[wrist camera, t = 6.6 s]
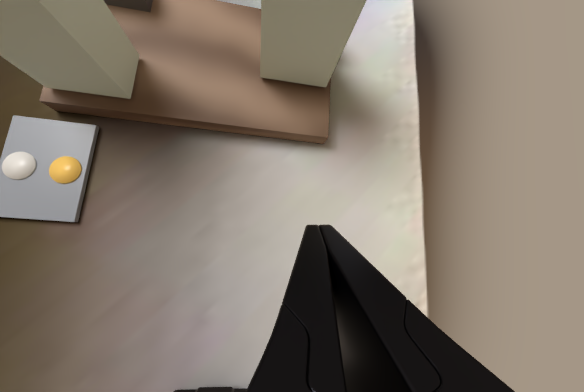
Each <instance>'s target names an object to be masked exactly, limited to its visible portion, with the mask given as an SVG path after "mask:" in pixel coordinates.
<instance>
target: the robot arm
mask: <svg viewBox="0 0 584 392" xmlns="http://www.w3.org/2000/svg"><path fill="white" fill-rule="evenodd" d="M174 392H514V391H513V390H512V389H511V388H510V387H508V386H507V385H506V384H505V383H504V382H502V381H501V380H500V379H499V378H498V377H496V376H495V375H494V374H493V373H492V372H490V371H489V370H488V369H487V368H486V367H484V366H483V365H482V364H481V363H480V362H478V361H477V360H476V359H474V357H472V356H471V355H470V354H469V353H467V352H466V351H465V350H464V349H463V348H461V347H460V346H459V345H458V344H457V343H456V342H454V341H453V340H452V339H451V338H450V337H448V336H447V335H446V334H445V333H444V332H443V331H442V330H441V329H439V328H438V327H437V326H436V325H435V324H434V323H433V322H432V321H431V320H430V319H428V318H427V317H426V316H425V315H424V314H423V313H422V312H421V311H420V310H419V309H418V308H417V307H416V306H415V305H414V304H412V303H411V302H410V301H409V300H406V297H405V296H404V295H403V294H402V293H401V292H400V291H399V290H398V289H397V288H396V287H395V286H394V285H393V284H392V283H391V282H389V281H388V280H387V279H386V278H385V277H384V276H383V275H382V274H381V273H380V272H379V271H378V270H377V269H376V268H375V267H374V266H373V265H372V264H371V263H370V262H369V261H368V260H367V259H366V258H365V257H364V256H362V255H361V254H360V253H359V252H358V251H357V250H356V249H355V248H354V247H353V246H352V245H351V244H350V243H349V242H348V241H347V240H346V239H345V238H344V237H343V236H342V235H341V234H340V233H339V232H338V231H336V230H335V229H334V228H333V227H332V226H331V225H319V226H318V225H307V226H306V228H305V231H304V235H303V238H302V241H301V244H300V247H299V251H298V254H297V257H296V260H295V263H294V267H293V270H292V273H291V276H290V279H289V283H288V286H287V289H286V292H285V296H284V299H283V302H282V305H281V308H280V311H279V314H278V317H277V320H276V323H275V326H274V329H273V332H272V335H271V337H270V339H269V342H268V344H267V347H266V349H265V351H264V354H263V356H262V358H261V360H260V363H259V365H258V367H257V369H256V371H255V373H254V376H253V378H252V380H251V382H250V384H249V386H248V388H247V389H233V388H232V387H205V388H198V389H197V390H175V391H174Z"/></svg>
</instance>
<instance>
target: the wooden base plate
mask: <svg viewBox="0 0 584 392" xmlns="http://www.w3.org/2000/svg"><path fill="white" fill-rule="evenodd" d="M104 2H105V3H106V5H107V6H108V8H109V9H110V11H111V12H112V14H113V15H114V17H115V19H116V20H117V22H118V23H119V25H120V26H121V28H122V29H123V31H124V32H125V34H126V35H127V37H128V38H129V40H130V41H131V43H132V44H133V46H134V47H135V49H136V50H137V52H138V53H139V60H138V65H137V70H136V75H135V80H134V85H133V90H132V94H131V99H127V98H120V97H112V96H105V95H97V94H90V93H82V92H75V91H68V90H60V89H53V88H46V87H45V86H43V90H42V93H41V97H40V100H39V101H41V102H42V103H44V104H45V105H47V106H49V107H50V108H52V109H54V110H55V111H61V112H69V113H77V114H86V115H94V116H102V117H110V118H118V119H126V120H134V121H142V122H150V123H159V124H167V125H175V126H183V127H191V128H199V129H207V130H215V131H223V132H231V133H240V134H248V135H256V136H264V137H272V138H280V139H288V140H296V141H304V142H313V143H321V144H324V143H325V141H326V140H327V138H328V129H329V106H330V83H331V78H330V80H329V82H328V84H327V86H326V87H319V86H313V85H307V84H300V83H294V82H287V81H281V80H274V79H268V78H262V77H260V57H261V9H258V8H252V7H247V6H242V5H237V4H232V3H227V2H221V1H216V0H104Z"/></svg>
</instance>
